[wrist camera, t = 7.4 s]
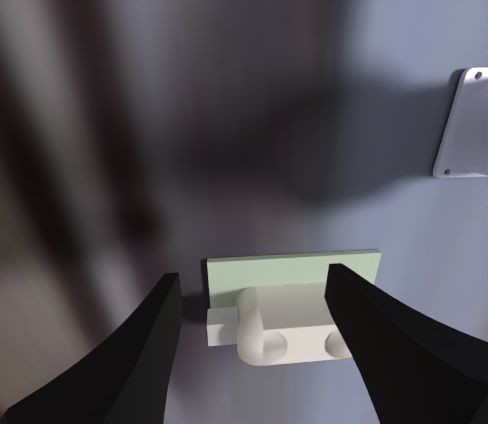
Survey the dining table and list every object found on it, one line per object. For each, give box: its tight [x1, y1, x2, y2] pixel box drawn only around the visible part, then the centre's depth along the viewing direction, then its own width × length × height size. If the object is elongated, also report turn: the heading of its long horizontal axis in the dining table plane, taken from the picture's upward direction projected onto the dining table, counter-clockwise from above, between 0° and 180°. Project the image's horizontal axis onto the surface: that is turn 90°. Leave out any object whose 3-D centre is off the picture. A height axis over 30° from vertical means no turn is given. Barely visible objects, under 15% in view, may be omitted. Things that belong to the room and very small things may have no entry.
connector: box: [207, 282, 352, 366], centre depth 23 cm, size 13×4×5 cm, turn 90°
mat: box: [207, 249, 381, 309], centre depth 26 cm, size 16×10×1 cm, turn 90°
